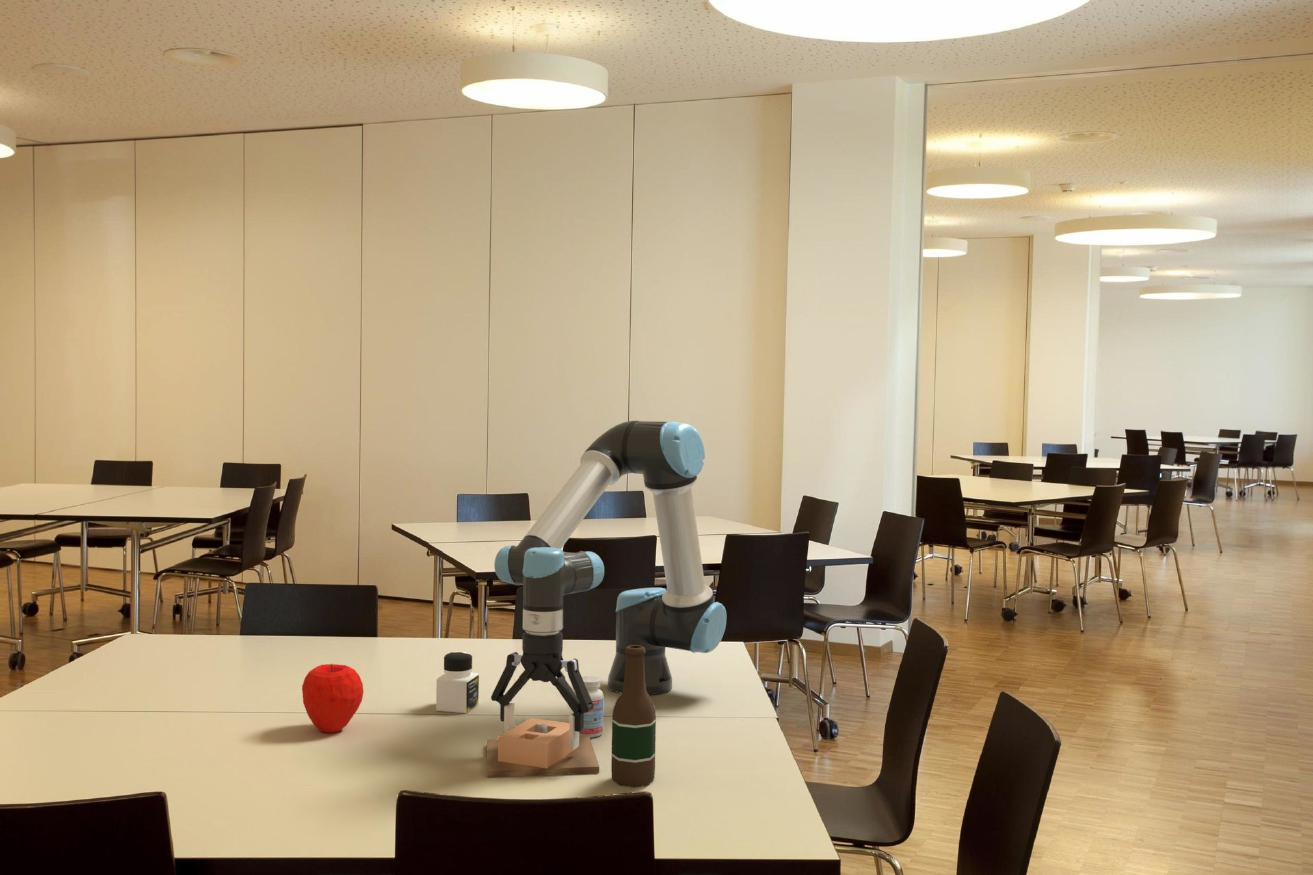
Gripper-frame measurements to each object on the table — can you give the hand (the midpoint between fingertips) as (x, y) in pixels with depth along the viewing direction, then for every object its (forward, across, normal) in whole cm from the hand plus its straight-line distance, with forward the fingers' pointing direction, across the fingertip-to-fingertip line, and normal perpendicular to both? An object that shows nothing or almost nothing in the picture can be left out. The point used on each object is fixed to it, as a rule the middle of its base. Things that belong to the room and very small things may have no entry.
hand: (541, 743), depth 207 cm
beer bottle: (+3, +20, -4) cm, 21 cm away
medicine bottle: (+3, -32, +23) cm, 39 cm away
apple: (+3, -46, -1) cm, 47 cm away
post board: (+3, 0, 0) cm, 3 cm away
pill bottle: (+3, +2, +18) cm, 18 cm away
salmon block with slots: (+2, 0, -1) cm, 2 cm away
